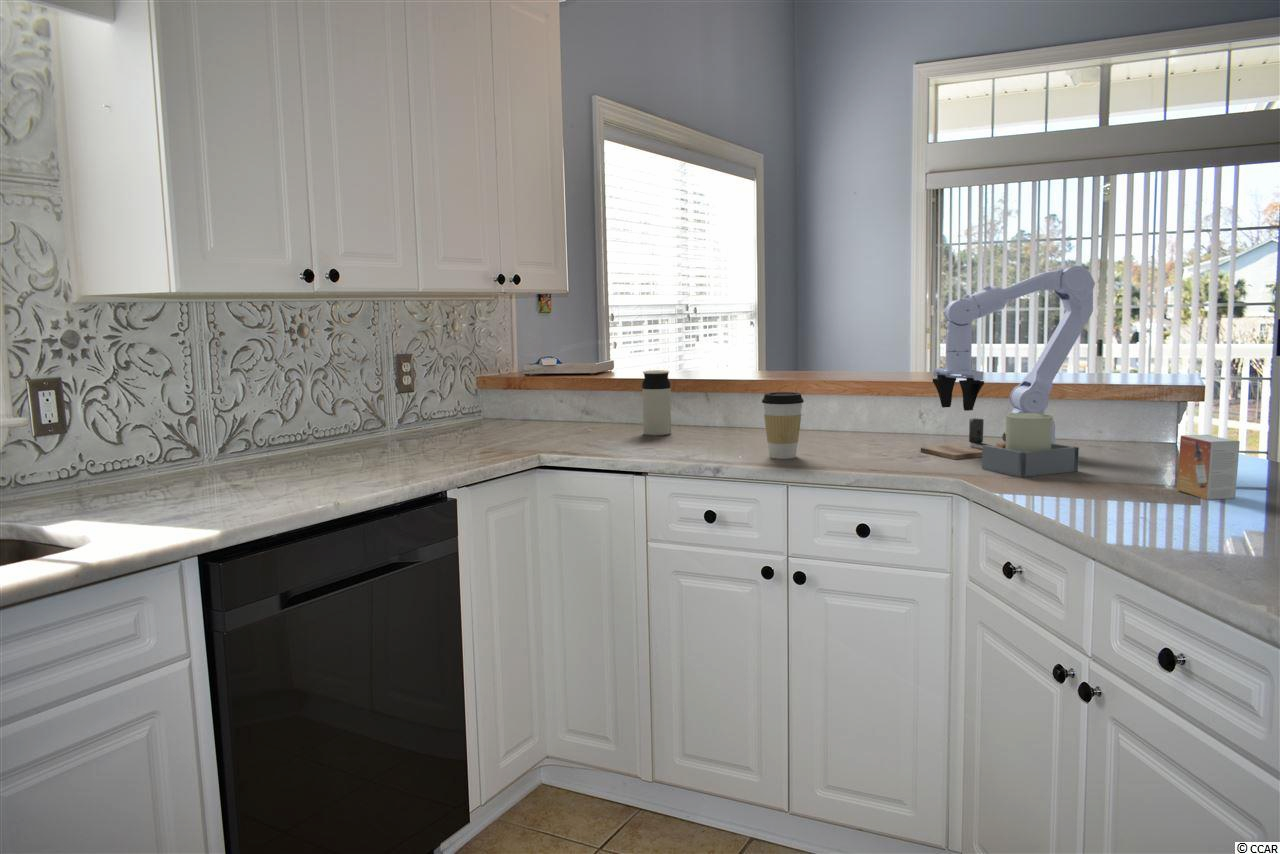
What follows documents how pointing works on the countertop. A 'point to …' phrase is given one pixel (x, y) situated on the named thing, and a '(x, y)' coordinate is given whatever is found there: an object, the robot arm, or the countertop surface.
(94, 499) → the countertop surface
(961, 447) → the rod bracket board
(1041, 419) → the can
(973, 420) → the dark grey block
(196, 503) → the countertop surface
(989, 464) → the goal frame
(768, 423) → the coffee cup
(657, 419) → the travel mug
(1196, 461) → the small box
